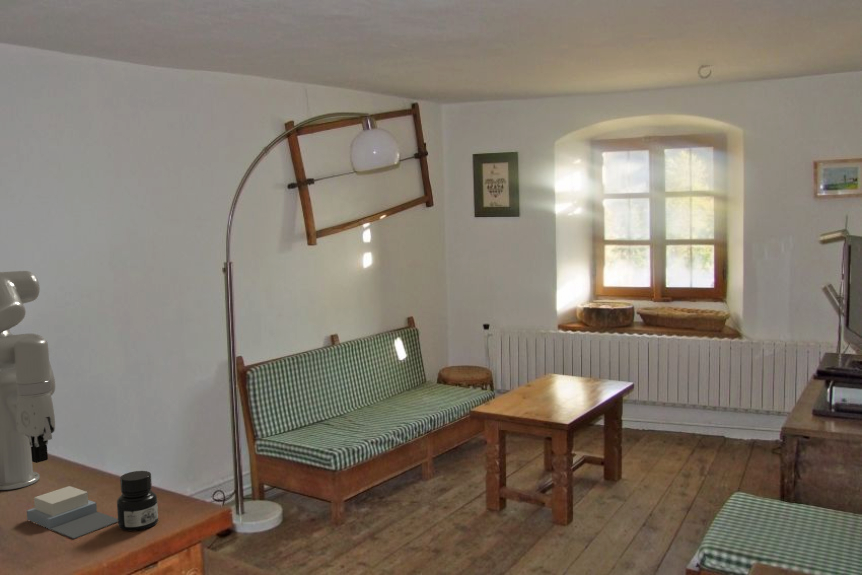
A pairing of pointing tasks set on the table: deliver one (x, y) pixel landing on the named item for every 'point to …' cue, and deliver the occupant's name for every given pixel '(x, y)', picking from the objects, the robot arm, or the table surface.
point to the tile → (61, 500)
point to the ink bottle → (136, 502)
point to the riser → (60, 515)
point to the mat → (85, 525)
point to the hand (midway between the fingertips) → (40, 460)
